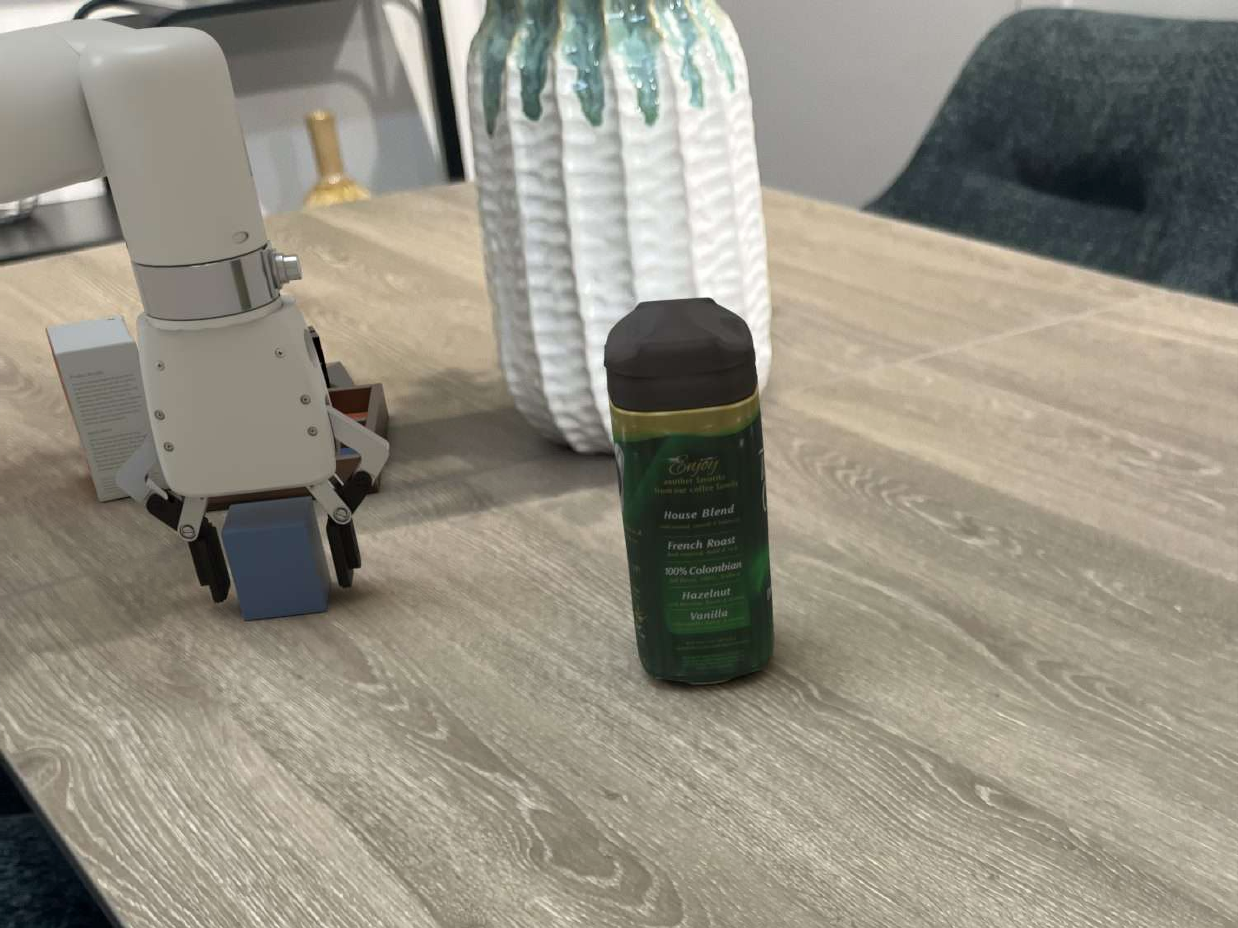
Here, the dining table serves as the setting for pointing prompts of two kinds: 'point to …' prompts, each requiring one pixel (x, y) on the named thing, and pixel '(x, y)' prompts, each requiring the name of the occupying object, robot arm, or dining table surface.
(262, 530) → the blue block
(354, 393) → the sorting tray
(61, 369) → the small box
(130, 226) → the robot arm
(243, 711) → the dining table surface
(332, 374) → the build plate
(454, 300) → the dining table surface
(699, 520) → the coffee jar
